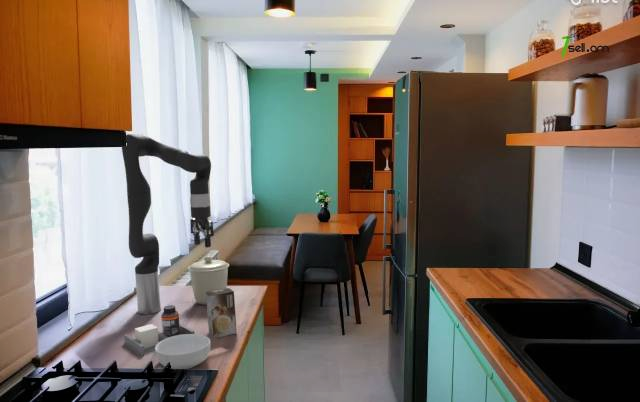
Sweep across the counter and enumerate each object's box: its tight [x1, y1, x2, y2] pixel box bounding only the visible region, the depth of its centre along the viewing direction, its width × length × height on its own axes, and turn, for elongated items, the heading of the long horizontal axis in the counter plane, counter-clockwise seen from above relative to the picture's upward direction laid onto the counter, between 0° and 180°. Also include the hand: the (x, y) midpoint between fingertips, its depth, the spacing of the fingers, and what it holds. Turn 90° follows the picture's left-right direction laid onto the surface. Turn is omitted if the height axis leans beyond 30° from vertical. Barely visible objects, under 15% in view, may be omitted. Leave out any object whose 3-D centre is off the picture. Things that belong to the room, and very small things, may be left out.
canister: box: [187, 255, 230, 306], centre depth 220 cm, size 18×18×21 cm
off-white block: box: [134, 323, 159, 349], centre depth 168 cm, size 5×6×6 cm
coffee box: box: [206, 287, 238, 339], centre depth 180 cm, size 9×6×16 cm
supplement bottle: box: [160, 304, 180, 337], centre depth 174 cm, size 6×6×11 cm
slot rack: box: [123, 322, 195, 357], centre depth 171 cm, size 15×20×4 cm
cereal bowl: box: [155, 333, 211, 370], centre depth 155 cm, size 17×17×7 cm
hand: (202, 245), depth 194 cm, fingers open, 8 cm apart
